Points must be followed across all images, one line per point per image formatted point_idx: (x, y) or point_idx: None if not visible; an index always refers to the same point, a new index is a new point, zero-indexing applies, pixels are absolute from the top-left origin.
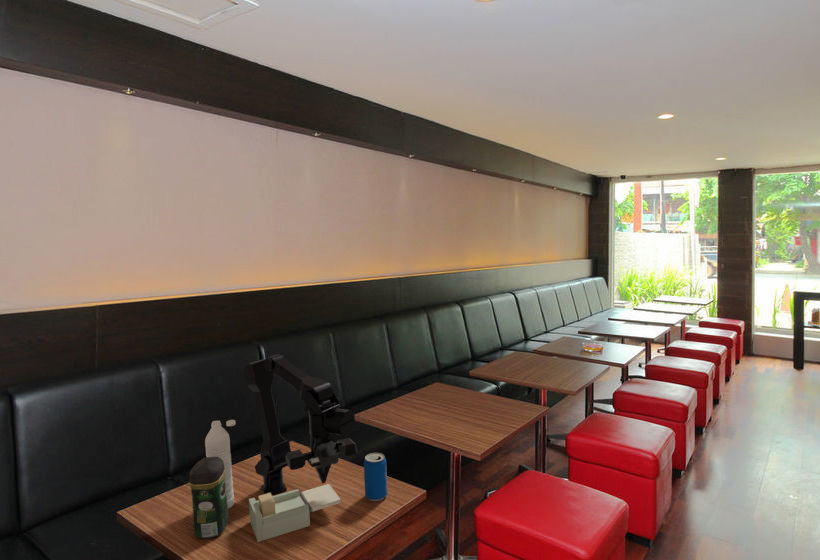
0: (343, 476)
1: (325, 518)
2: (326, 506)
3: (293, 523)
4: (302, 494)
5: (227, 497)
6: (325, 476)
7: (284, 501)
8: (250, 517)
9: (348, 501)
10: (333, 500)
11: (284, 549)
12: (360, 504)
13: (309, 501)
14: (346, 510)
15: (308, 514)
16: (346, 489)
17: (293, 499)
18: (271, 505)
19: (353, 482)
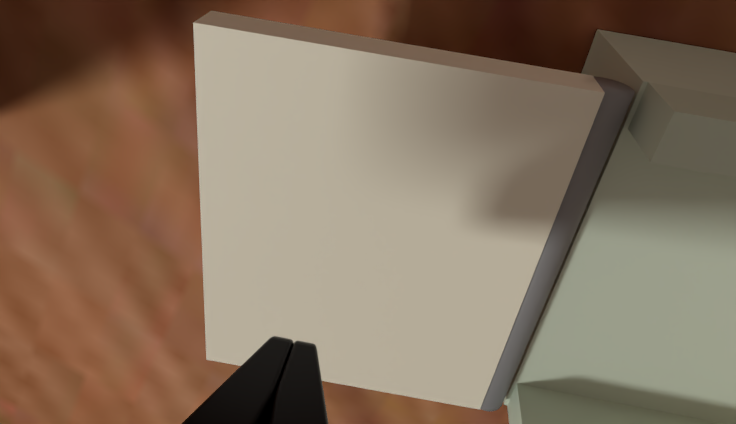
0: (80, 401)
1: (412, 40)
2: (401, 46)
3: None
4: (500, 376)
5: None
6: (233, 415)
7: (682, 396)
8: None
9: (129, 140)
10: (286, 60)
11: None
12: (39, 25)
13: (527, 239)
14: (188, 25)
15: (645, 69)
16: (99, 281)
17: (598, 372)
18: None
19: (31, 316)
